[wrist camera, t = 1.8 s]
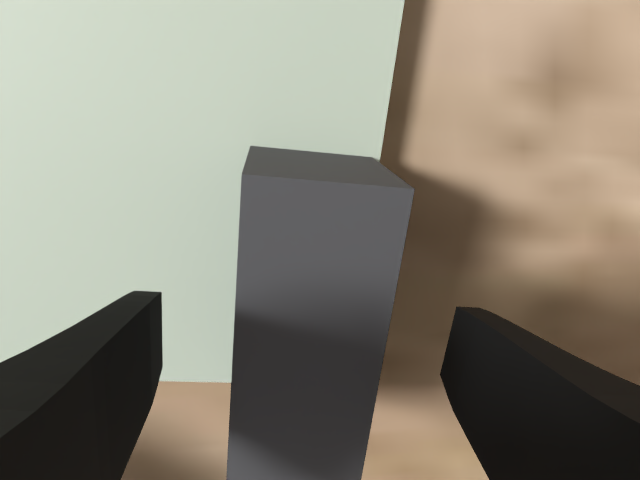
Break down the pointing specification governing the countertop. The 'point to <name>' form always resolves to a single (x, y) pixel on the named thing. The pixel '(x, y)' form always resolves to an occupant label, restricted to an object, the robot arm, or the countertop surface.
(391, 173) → the tall gray prism
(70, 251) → the pale green u-shaped slab
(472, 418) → the robot arm
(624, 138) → the countertop surface
